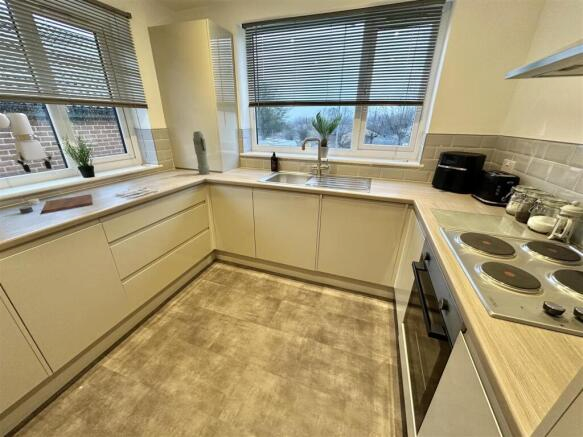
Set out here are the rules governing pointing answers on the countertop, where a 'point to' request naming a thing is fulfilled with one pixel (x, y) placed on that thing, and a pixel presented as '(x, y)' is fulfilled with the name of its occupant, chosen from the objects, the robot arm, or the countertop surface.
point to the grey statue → (201, 153)
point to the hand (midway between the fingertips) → (39, 170)
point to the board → (67, 203)
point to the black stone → (26, 210)
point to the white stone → (34, 201)
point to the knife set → (136, 191)
